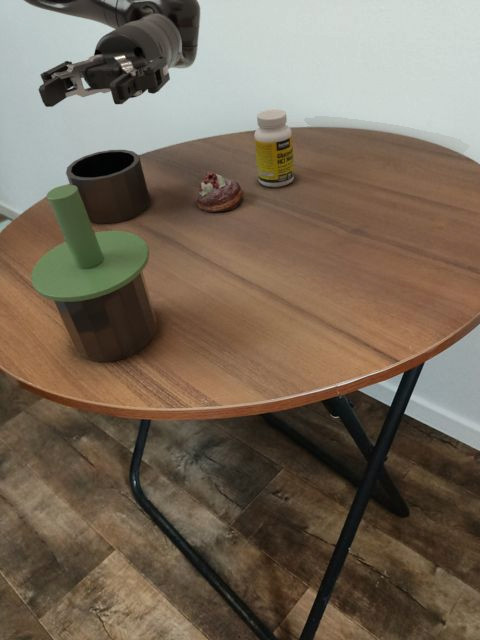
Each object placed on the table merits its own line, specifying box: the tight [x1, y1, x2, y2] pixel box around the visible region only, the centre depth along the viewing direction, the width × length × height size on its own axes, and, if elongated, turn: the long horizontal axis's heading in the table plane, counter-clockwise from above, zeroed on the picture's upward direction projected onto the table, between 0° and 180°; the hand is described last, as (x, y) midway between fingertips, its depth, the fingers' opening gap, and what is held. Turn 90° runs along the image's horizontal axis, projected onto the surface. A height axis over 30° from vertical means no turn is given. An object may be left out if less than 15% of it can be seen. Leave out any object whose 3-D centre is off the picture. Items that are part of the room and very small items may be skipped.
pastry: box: [196, 171, 244, 213], centre depth 84 cm, size 8×8×5 cm
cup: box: [51, 271, 158, 363], centre depth 60 cm, size 10×10×9 cm
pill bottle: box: [253, 109, 295, 188], centre depth 86 cm, size 6×6×11 cm
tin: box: [65, 149, 151, 225], centre depth 86 cm, size 12×12×8 cm
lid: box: [30, 184, 150, 302], centre depth 53 cm, size 13×13×9 cm
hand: (78, 96), depth 57 cm, fingers open, 8 cm apart
